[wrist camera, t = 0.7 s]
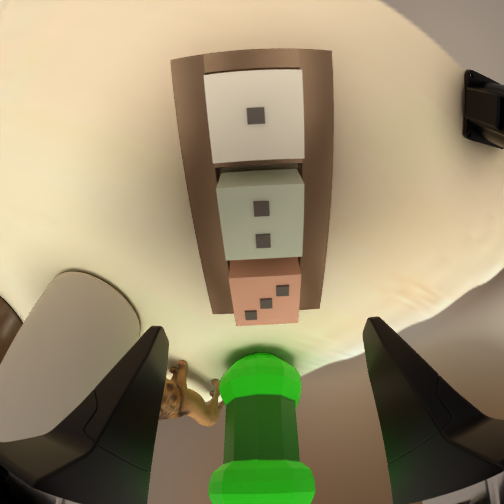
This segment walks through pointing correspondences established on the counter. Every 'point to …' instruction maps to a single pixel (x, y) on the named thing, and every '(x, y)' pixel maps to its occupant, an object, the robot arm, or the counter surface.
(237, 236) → the tile two pips
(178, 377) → the lion figurine
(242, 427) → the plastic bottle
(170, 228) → the counter surface
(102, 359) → the cylinder vase
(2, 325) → the plant pot
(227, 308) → the walnut board
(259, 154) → the tile one pip
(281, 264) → the tile three pips
